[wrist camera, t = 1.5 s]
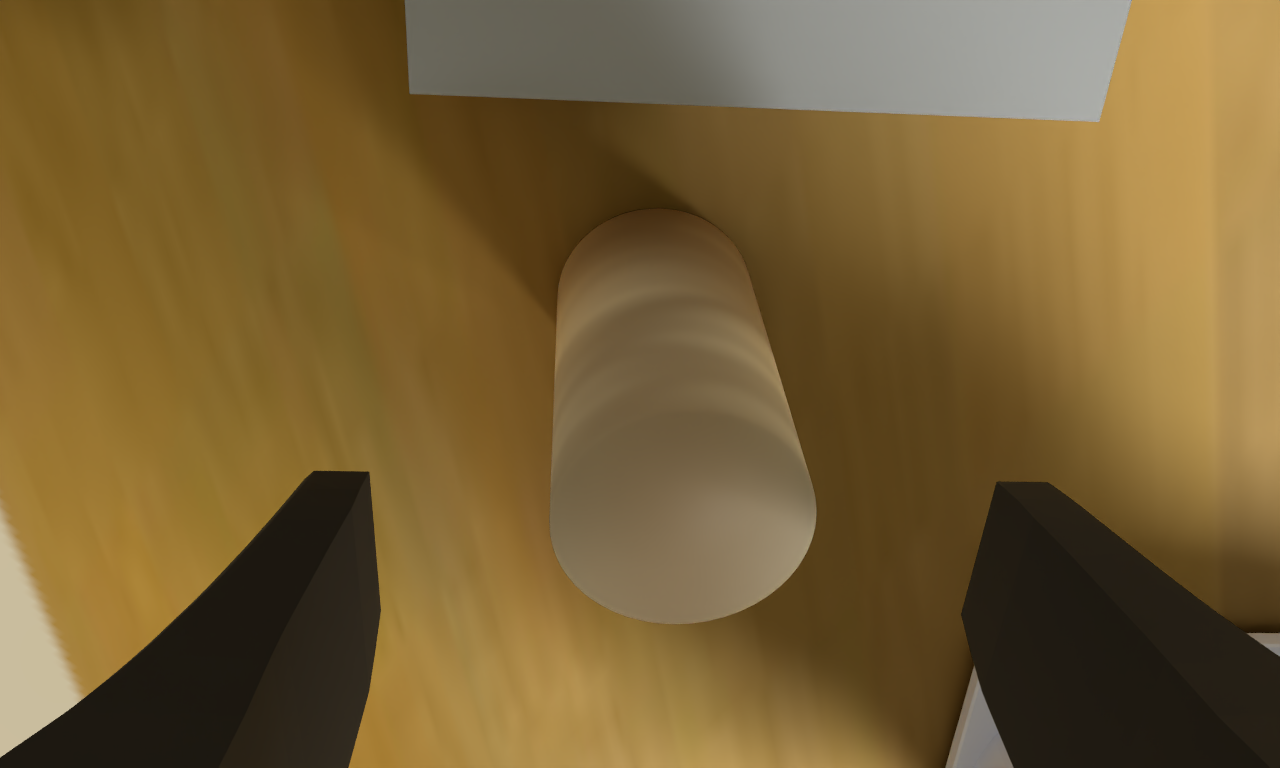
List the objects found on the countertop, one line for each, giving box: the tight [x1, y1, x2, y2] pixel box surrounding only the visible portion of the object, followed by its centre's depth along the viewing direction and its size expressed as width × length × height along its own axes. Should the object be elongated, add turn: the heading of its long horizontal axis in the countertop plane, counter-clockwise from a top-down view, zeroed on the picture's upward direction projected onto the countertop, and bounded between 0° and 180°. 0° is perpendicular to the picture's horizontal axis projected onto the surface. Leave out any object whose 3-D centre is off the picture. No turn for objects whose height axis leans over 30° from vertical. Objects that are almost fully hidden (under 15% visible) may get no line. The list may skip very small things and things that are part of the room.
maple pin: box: [549, 208, 817, 624], centre depth 16 cm, size 3×3×6 cm
